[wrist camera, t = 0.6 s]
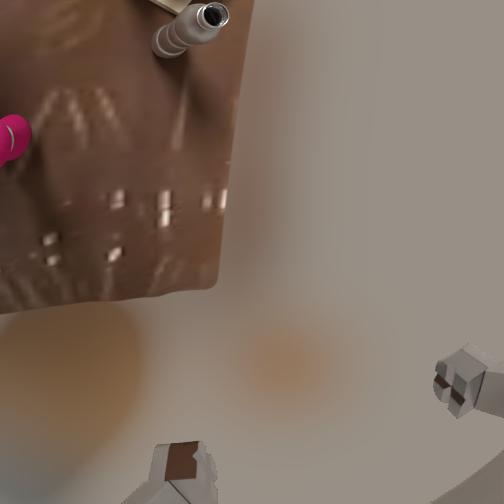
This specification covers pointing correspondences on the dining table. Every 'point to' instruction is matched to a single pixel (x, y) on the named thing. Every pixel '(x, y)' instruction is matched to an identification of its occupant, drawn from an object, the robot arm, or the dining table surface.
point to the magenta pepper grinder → (13, 137)
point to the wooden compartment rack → (172, 5)
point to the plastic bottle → (189, 29)
